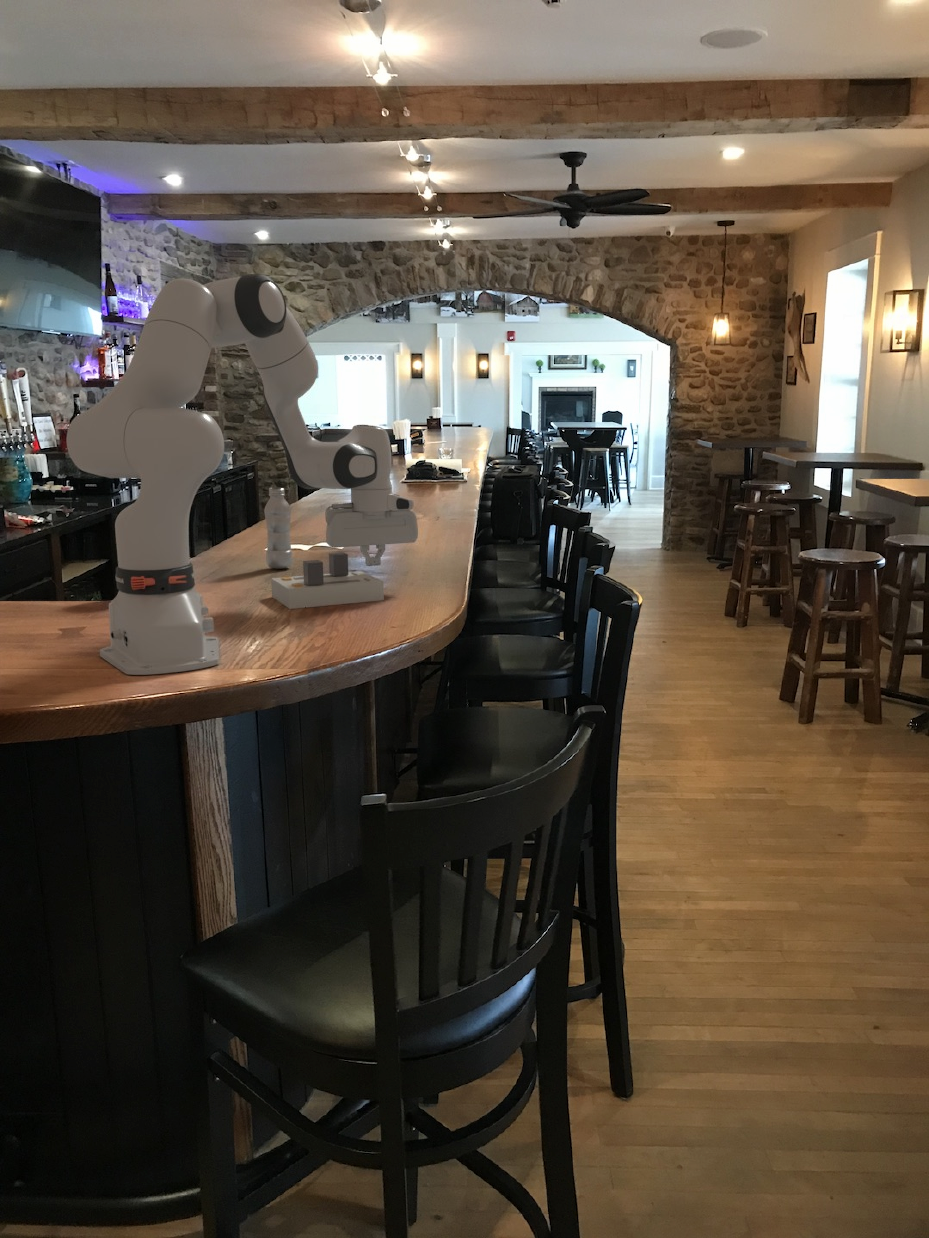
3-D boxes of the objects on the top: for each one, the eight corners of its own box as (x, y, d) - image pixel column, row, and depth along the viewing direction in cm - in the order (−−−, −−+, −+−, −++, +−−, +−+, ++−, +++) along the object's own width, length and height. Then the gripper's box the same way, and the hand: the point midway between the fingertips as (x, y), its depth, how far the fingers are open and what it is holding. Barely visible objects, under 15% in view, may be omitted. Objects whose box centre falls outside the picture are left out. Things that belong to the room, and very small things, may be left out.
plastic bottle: (265, 567, 236) (261, 487, 231) (292, 566, 238) (288, 487, 233) (267, 571, 230) (263, 489, 225) (295, 570, 232) (291, 489, 227)
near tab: (323, 584, 189) (322, 562, 188) (308, 585, 188) (307, 563, 187) (318, 581, 192) (318, 559, 191) (303, 582, 191) (302, 561, 190)
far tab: (348, 575, 200) (347, 554, 199) (334, 576, 198) (333, 555, 197) (343, 572, 203) (342, 552, 202) (329, 573, 201) (328, 553, 200)
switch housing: (383, 600, 194) (383, 579, 193) (289, 608, 186) (288, 587, 185) (361, 589, 207) (360, 569, 206) (271, 596, 198) (271, 576, 197)
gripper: (329, 505, 193) (331, 571, 196) (420, 501, 202) (421, 564, 205) (320, 502, 199) (322, 566, 202) (409, 498, 208) (410, 560, 211)
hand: (373, 565), depth 203 cm, fingers closed
